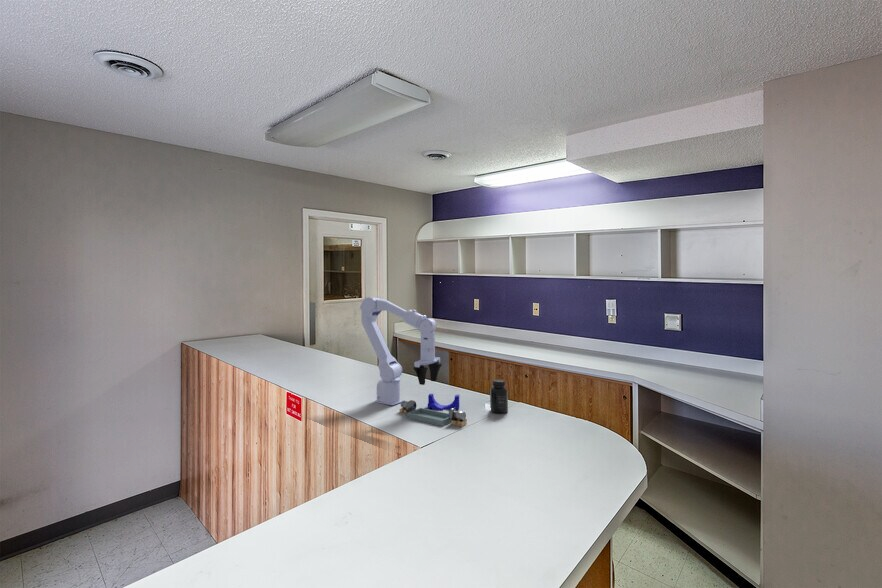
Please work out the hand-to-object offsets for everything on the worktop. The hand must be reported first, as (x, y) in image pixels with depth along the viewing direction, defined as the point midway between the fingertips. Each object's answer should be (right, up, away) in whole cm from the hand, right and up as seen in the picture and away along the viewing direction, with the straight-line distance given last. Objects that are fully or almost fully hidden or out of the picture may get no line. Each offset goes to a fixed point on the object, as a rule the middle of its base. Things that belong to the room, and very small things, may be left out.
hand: (427, 382), depth 164 cm
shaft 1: (-8, -11, -6) cm, 14 cm away
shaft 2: (+11, -10, -20) cm, 25 cm away
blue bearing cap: (+6, -11, -2) cm, 13 cm away
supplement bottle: (+28, -11, -4) cm, 30 cm away
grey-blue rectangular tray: (+2, -10, -13) cm, 17 cm away
